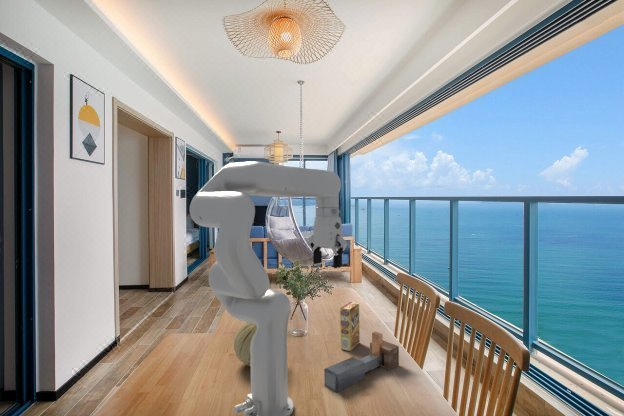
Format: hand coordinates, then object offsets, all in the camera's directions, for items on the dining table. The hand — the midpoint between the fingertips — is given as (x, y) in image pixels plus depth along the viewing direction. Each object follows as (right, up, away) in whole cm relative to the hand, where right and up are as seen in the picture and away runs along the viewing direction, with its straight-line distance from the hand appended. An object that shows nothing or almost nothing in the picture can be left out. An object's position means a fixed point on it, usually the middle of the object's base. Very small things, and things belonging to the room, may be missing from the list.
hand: (327, 265), depth 118 cm
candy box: (+9, -33, +17) cm, 38 cm away
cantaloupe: (-23, -34, +2) cm, 41 cm away
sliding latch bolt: (+13, -32, -2) cm, 35 cm away
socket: (+19, -33, +3) cm, 38 cm away
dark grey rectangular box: (+5, -34, -9) cm, 35 cm away
